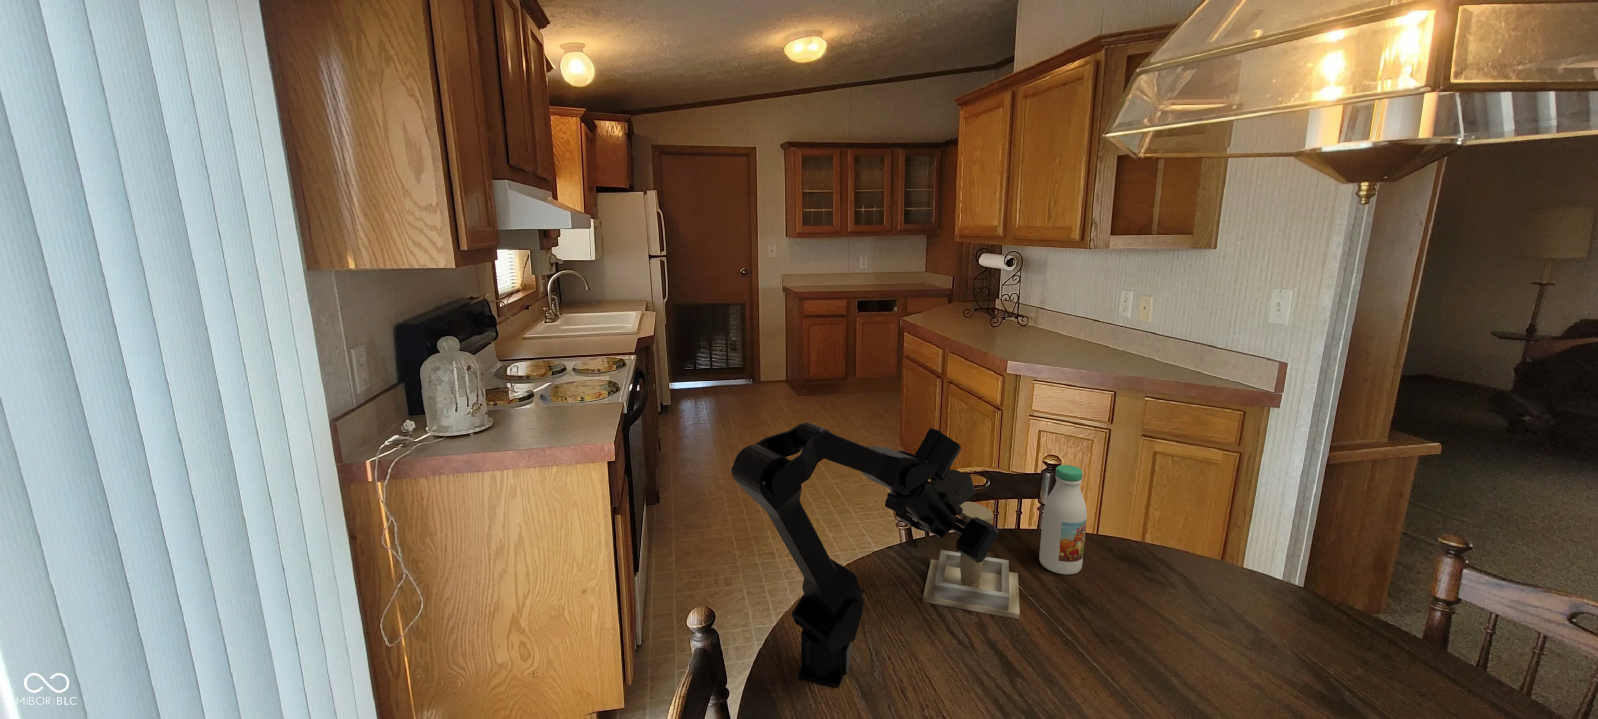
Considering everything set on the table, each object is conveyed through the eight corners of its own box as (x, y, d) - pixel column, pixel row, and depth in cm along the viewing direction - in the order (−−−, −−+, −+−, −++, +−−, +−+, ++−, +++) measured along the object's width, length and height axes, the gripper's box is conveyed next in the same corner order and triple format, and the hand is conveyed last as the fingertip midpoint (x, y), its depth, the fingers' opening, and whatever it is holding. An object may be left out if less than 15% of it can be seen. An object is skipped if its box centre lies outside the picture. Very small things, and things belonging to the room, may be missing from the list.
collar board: (922, 601, 107) (923, 583, 107) (931, 563, 120) (931, 547, 119) (1019, 619, 103) (1020, 600, 102) (1017, 578, 115) (1018, 561, 114)
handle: (972, 599, 107) (977, 522, 103) (947, 579, 112) (951, 505, 108) (992, 590, 109) (999, 515, 105) (967, 572, 114) (972, 499, 110)
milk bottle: (1040, 572, 117) (1049, 474, 113) (1037, 552, 124) (1045, 459, 120) (1084, 578, 115) (1095, 478, 110) (1078, 557, 122) (1088, 463, 118)
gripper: (995, 479, 94) (1033, 527, 102) (909, 444, 109) (949, 488, 117) (956, 540, 91) (999, 584, 99) (874, 496, 106) (917, 537, 114)
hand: (964, 544), depth 108 cm, fingers open, 9 cm apart
